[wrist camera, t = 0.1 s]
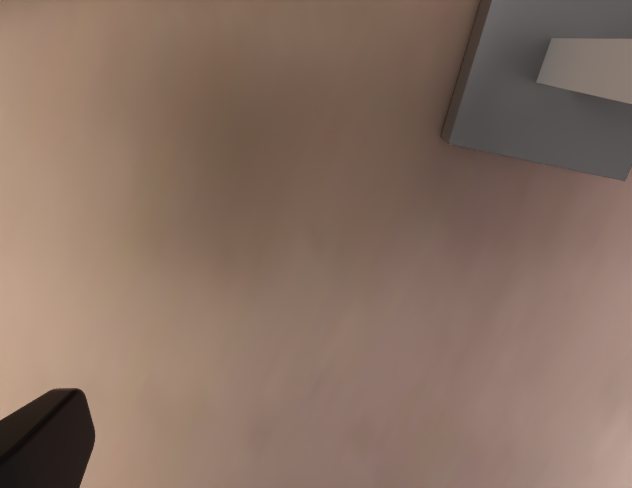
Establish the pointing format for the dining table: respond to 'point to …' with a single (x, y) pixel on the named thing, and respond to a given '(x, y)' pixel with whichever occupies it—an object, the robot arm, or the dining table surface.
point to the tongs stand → (548, 84)
